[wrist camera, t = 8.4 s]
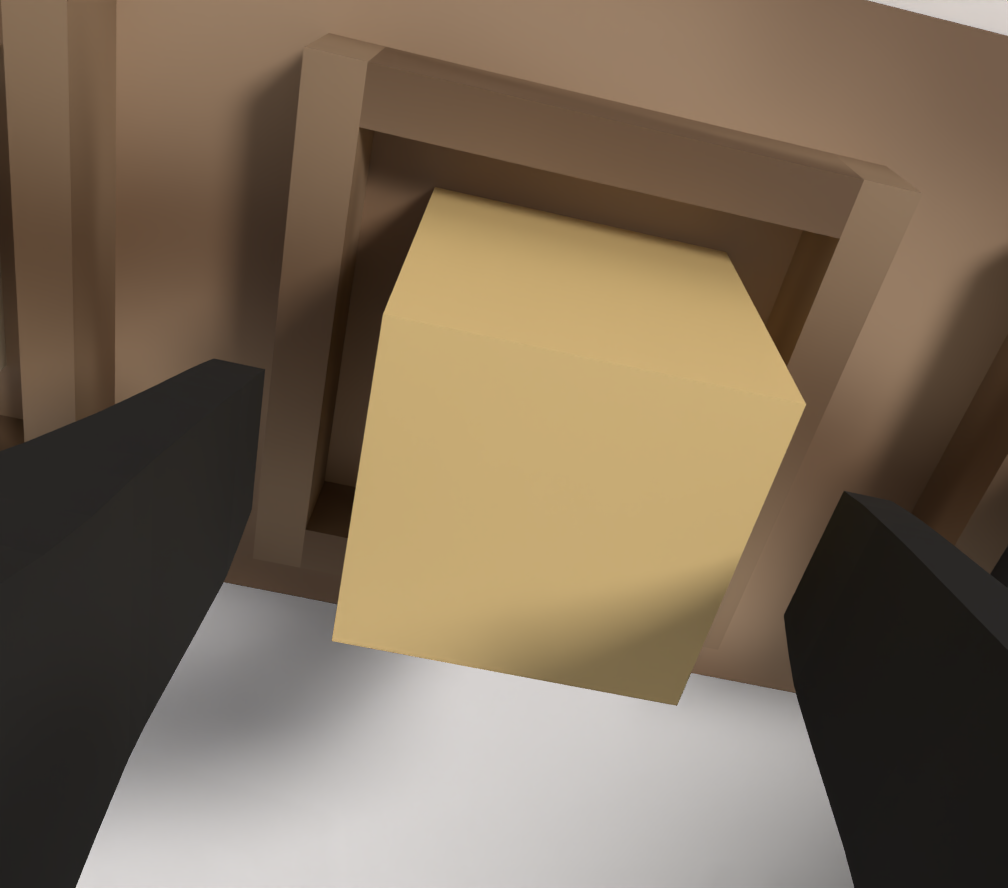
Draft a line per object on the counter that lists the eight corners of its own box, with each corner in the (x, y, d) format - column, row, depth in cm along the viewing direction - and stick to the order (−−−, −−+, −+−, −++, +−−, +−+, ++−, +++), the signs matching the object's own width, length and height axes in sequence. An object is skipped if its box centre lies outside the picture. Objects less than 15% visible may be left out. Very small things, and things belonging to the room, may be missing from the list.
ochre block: (642, 493, 16) (677, 704, 12) (389, 442, 16) (332, 641, 12) (725, 252, 14) (806, 404, 10) (434, 187, 14) (383, 313, 9)
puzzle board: (1220, 743, 20) (1455, 1034, 15) (-368, 430, 18) (-750, 648, 12) (1691, 207, 14) (2359, 381, 9) (-609, -373, 12) (-1535, -599, 6)
